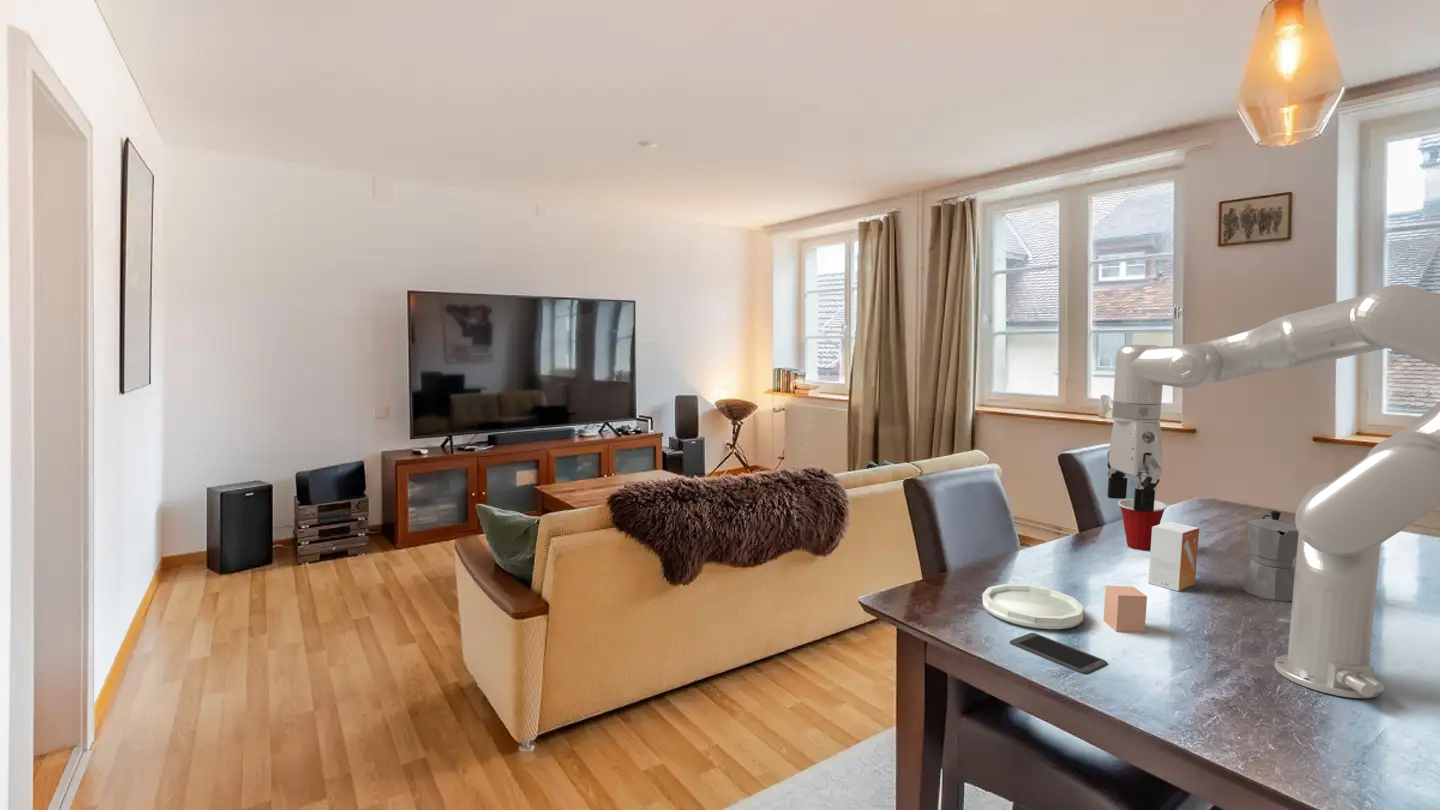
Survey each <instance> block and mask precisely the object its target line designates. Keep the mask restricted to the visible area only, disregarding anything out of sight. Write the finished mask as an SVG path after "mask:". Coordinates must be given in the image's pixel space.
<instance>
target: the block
mask: <svg viewBox="0 0 1440 810" xmlns="http://www.w3.org/2000/svg"><path fill="white" fill-rule="evenodd" d="M1147 602H1148V596H1147V595H1146V594H1145V593H1143V592H1141V591H1140V590H1139V589H1137V588H1136V587H1134V586H1130V585H1129V586H1127V585H1125V586H1124V585H1105V589H1104V604H1103V605H1104V606H1103V622H1104V623H1105V622H1106V623H1105V624H1106V625H1107V626H1108V627H1110V628H1111V629H1112V630H1113V629H1114V630H1113V631H1114V632H1116V633H1131V632H1139V633H1138V634H1145V633H1146V620H1147Z"/></svg>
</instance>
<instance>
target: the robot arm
mask: <svg viewBox="0 0 1440 810" xmlns="http://www.w3.org/2000/svg"><path fill="white" fill-rule="evenodd" d="M1384 349H1391V350H1392V351H1395V352H1398V353H1400V354H1403V355H1405V356H1409V357H1410V358H1414V359H1417V360H1419V361H1420V360H1421V361H1423V362H1425V363H1428V364H1431V365H1434V366H1437V367H1440V294H1437V293H1435V292H1432V291H1428V290H1426V289H1423V288H1419V287H1417V286H1413V285H1408V284H1407V285H1406V284H1396V285H1395V284H1393V285H1386V286H1383V287H1381V288H1377V289H1375V290H1372V291H1371V292H1369V293H1367V294H1363V295H1358V296H1356V297H1351V298H1348V299H1344V300H1341V301H1336V302H1333V303H1329V304H1324V305H1322V306H1318V307H1313V308H1310V309H1309V308H1308V309H1306V310H1302V311H1298V312H1294V313H1289V314H1286V315H1282V316H1280V317H1276V318H1274V319H1272V320H1269V321H1268V322H1266V323H1264V324H1263V325H1260V326H1258V327H1257V326H1256V327H1255V328H1253V329H1249V330H1246V331H1243V332H1240V333H1239V332H1238V333H1235V334H1233V335H1232V334H1231V335H1229V336H1224V337H1220V338H1217V339H1212V340H1209V341H1204V342H1200V343H1189V344H1186V343H1185V344H1176V345H1168V346H1166V345H1165V346H1159V345H1155V344H1124V345H1121V346H1120V347H1119V348H1118V349H1117V351H1116V356H1115V367H1114V368H1115V370H1114V372H1115V373H1114V383H1113V384H1114V386H1113V397H1112V398H1113V400H1112V401H1113V402H1112V413H1111V419H1112V420H1113V424H1112V430H1111V436H1110V444H1109V450H1108V451H1107V453H1106V456H1107V461H1108V462H1107V464H1106V466H1107V468H1108V471H1107V476H1108V482H1107V494H1106V495H1107V498H1109V499H1117V500H1118V499H1120V500H1123V499H1127V490H1128V489H1127V488H1128V477H1126V476H1127V475H1128V476H1131V477H1134V480H1135V484H1136V487H1137V488H1134V495H1133V499H1134V507H1133V509H1134V510H1135V511H1145V512H1152V511H1153V510H1154V500H1155V499H1156V491H1157V489H1158V484H1159V482H1160V481H1161V480H1160V477H1161V474H1162V472H1163V469H1162V466H1163V465H1162V461H1163V460H1162V459H1163V458H1162V457H1163V453H1162V451H1163V446H1162V445H1163V443H1162V442H1163V441H1162V438H1163V437H1162V428H1161V414H1162V413H1161V412H1162V399H1163V387H1164V386H1168V387H1174V388H1180V389H1181V388H1182V389H1183V388H1184V389H1191V388H1193V389H1194V388H1196V387H1200V386H1206V385H1211V384H1215V383H1219V382H1223V381H1228V380H1232V379H1238V378H1242V377H1246V376H1250V375H1251V376H1252V375H1255V374H1256V375H1257V374H1261V373H1265V372H1271V371H1281V370H1292V369H1297V368H1302V367H1306V366H1311V365H1315V364H1320V363H1324V362H1329V361H1333V360H1338V359H1344V358H1347V357H1351V356H1358V355H1361V354H1365V353H1366V354H1367V353H1371V352H1376V351H1380V350H1384ZM1155 501H1156V500H1155ZM1439 507H1440V401H1438V403H1436V404H1434V405H1433V406H1432V407H1430V409H1428V410H1427V411H1426V412H1425V413H1423V414H1422V415H1421V416H1419V417H1417V418H1416V419H1415V420H1414V421H1412V422H1411V423H1409V424H1407V425H1406V426H1405V427H1404V428H1402V429H1400V430H1399V431H1398V432H1395V433H1394V434H1393V435H1392V436H1390V437H1387V438H1386V439H1384V440H1382V441H1380V442H1379V443H1377V444H1376V445H1374V446H1373V447H1372V448H1371V450H1369V452H1368V453H1367V455H1366V457H1364V458H1362V459H1361V460H1360V461H1358V462H1357V463H1356V464H1355V465H1353V466H1352V467H1351V468H1350V467H1349V469H1347V470H1346V471H1345V472H1343V473H1342V474H1340V475H1339V476H1338V477H1336V478H1335V479H1334V480H1332V481H1328V482H1324V483H1320V484H1318V485H1316V486H1314V487H1312V488H1311V489H1310V490H1309V491H1307V493H1305V495H1303V498H1302V499H1301V501H1300V503H1299V505H1298V507H1297V509H1296V512H1295V516H1294V517H1295V518H1294V522H1295V524H1294V525H1296V528H1297V531H1298V533H1299V536H1298V546H1297V553H1296V557H1295V559H1296V560H1295V567H1294V568H1295V569H1294V575H1295V576H1294V587H1293V599H1292V601H1291V612H1290V613H1291V614H1290V626H1289V635H1288V651H1287V654H1282V655H1279V656H1276V658H1275V659H1274V664H1273V665H1274V669H1275V670H1276V671H1277V672H1278V674H1280V675H1282V677H1284V678H1285V679H1287V680H1289V681H1291V682H1293V683H1296V684H1298V685H1300V686H1303V687H1304V688H1308V689H1311V690H1314V691H1317V692H1320V693H1323V694H1327V695H1328V694H1329V695H1333V696H1337V697H1344V698H1351V699H1372V698H1376V697H1378V696H1379V695H1381V693H1382V692H1384V691H1385V685H1384V684H1383V683H1382V682H1380V681H1379V680H1377V679H1376V678H1375V677H1374V666H1372V665H1370V657H1371V656H1370V655H1371V648H1372V637H1373V636H1372V635H1373V625H1374V616H1375V605H1376V597H1377V596H1376V594H1377V588H1378V587H1377V585H1378V577H1379V567H1380V566H1379V565H1380V556H1381V555H1380V554H1381V545H1382V544H1383V543H1384V542H1385V541H1387V540H1388V539H1389V540H1390V539H1391V538H1392V537H1393V536H1395V535H1397V534H1399V533H1400V532H1401V531H1403V530H1405V529H1406V528H1408V527H1409V526H1411V525H1412V524H1414V523H1416V522H1417V521H1419V520H1420V519H1422V518H1424V517H1425V516H1427V515H1428V514H1430V513H1431V512H1433V511H1435V510H1436V509H1437V508H1439Z"/></svg>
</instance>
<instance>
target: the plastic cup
mask: <svg viewBox="0 0 1440 810" xmlns="http://www.w3.org/2000/svg"><path fill="white" fill-rule="evenodd" d="M1117 504H1118V506H1119V508H1120V511H1121V515H1122V521H1123V527H1124V533H1125V539H1126V545H1127V547H1128V548H1129V549H1134V550H1137V549H1138V551H1151V536H1152V527H1153V526H1156V525H1159V524H1161V520H1162V518H1163V514H1164V512H1165V510H1166V509H1167V504H1166V503H1164V502H1162V501H1159V500H1154V510H1153V511H1152V512H1145V511H1135V510H1134V509H1133V507H1134V498H1125V499H1120V500H1118V502H1117Z"/></svg>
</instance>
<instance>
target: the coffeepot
mask: <svg viewBox="0 0 1440 810" xmlns="http://www.w3.org/2000/svg"><path fill="white" fill-rule="evenodd" d="M1281 514H1282V513H1281V512H1280V511H1278V510H1273V511H1270V515H1269V514H1264V515H1263V517H1262V518H1260V519H1259V518H1256V519H1253V518H1252V519H1250V520H1248V521H1247V522H1246V524H1247V536H1248V545H1249V552H1250V553H1251V554H1252V556H1251V560H1250V562H1249V565H1248V569H1247V572H1246V575H1245V578H1244V582H1243V585H1242V590H1243V591H1244V592H1245V591H1246V593H1247V594H1249V595H1251V596H1253V595H1254V596H1253V597H1256V596H1257V597H1256V598H1260V599H1264V598H1265V600H1268V599H1269V600H1268V601H1276V602H1292V599H1293V587H1294V576H1295V569H1294V568H1295V567H1293V563H1294V562H1293V561H1294V560H1295V559H1296V556H1297V546H1298V536H1299V533H1298V531H1297V528H1296V524H1294V523H1292V522H1287V521H1284V520H1281V519H1280V516H1281Z"/></svg>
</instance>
